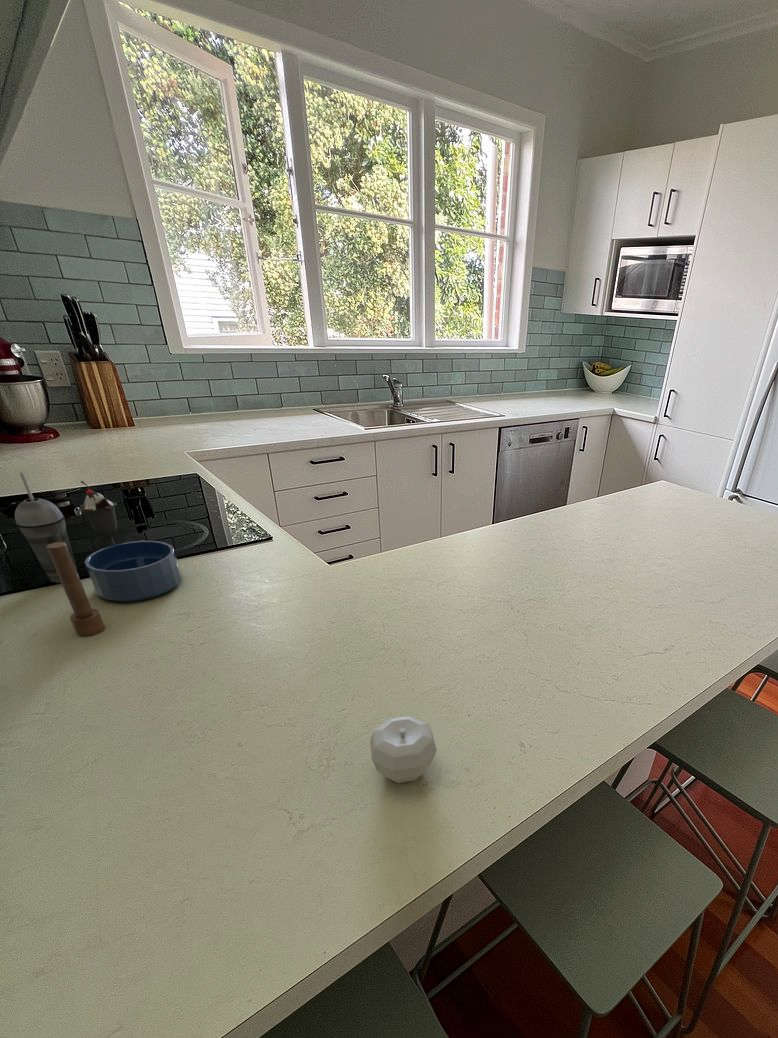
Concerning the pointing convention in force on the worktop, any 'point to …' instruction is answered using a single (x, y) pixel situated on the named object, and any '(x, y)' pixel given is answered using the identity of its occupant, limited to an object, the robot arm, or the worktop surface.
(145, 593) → the bowl
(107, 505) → the sundae
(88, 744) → the worktop surface
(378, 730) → the apple
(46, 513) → the beverage cup
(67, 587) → the brown pestle
